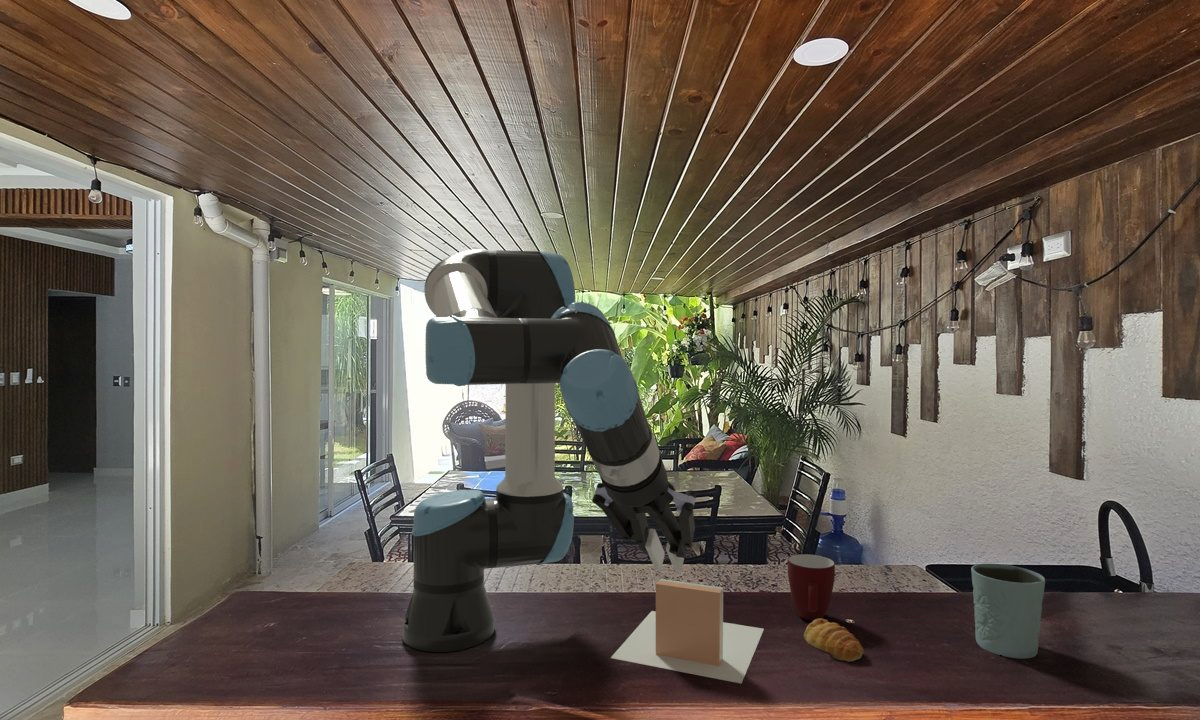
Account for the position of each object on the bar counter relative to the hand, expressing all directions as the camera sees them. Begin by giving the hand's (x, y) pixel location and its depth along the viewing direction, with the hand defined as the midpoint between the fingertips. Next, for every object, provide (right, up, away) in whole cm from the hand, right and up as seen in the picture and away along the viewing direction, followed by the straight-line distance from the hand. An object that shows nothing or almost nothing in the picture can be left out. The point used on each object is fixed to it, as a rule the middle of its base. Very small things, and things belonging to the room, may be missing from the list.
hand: (670, 562), depth 92 cm
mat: (+5, -18, +15) cm, 24 cm away
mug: (+28, -18, +25) cm, 42 cm away
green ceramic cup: (+56, -18, +15) cm, 61 cm away
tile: (+4, -17, +10) cm, 20 cm away
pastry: (+28, -18, +14) cm, 36 cm away
